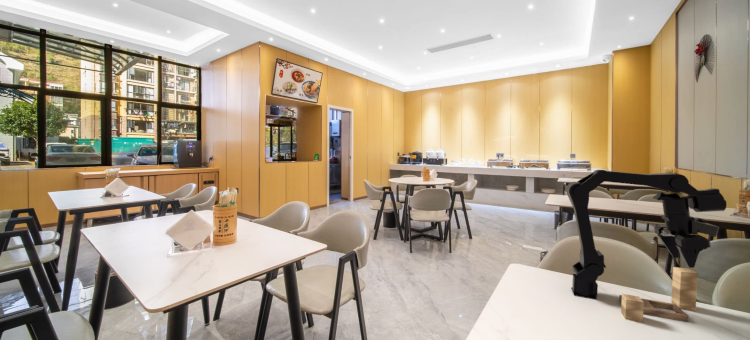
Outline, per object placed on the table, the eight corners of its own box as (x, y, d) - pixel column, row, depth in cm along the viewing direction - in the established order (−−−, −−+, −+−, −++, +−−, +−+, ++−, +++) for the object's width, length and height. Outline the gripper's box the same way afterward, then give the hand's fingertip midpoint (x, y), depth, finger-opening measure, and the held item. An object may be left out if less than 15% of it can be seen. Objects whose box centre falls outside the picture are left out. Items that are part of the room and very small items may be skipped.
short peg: (625, 319, 88) (626, 299, 87) (621, 312, 91) (621, 293, 91) (642, 322, 86) (643, 302, 86) (637, 315, 90) (638, 296, 89)
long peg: (679, 308, 94) (681, 271, 93) (671, 302, 97) (673, 266, 97) (695, 310, 92) (697, 273, 92) (687, 304, 96) (689, 268, 95)
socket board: (627, 310, 92) (627, 305, 92) (619, 299, 99) (619, 294, 99) (688, 321, 86) (688, 316, 86) (675, 308, 93) (675, 303, 93)
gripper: (732, 217, 81) (740, 274, 81) (694, 206, 98) (700, 253, 98) (678, 219, 85) (686, 273, 85) (650, 208, 102) (657, 253, 102)
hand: (683, 262), depth 92 cm, fingers open, 9 cm apart
